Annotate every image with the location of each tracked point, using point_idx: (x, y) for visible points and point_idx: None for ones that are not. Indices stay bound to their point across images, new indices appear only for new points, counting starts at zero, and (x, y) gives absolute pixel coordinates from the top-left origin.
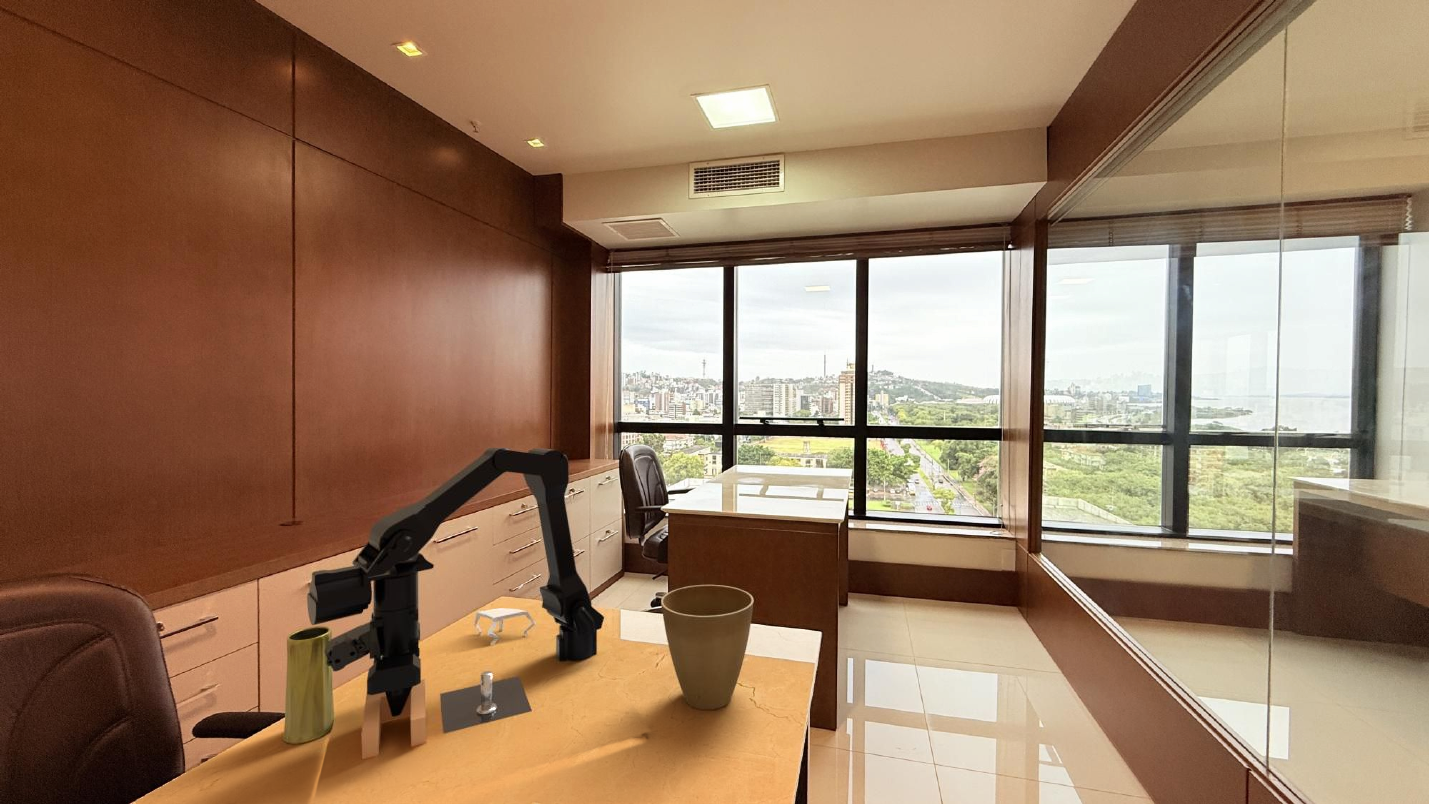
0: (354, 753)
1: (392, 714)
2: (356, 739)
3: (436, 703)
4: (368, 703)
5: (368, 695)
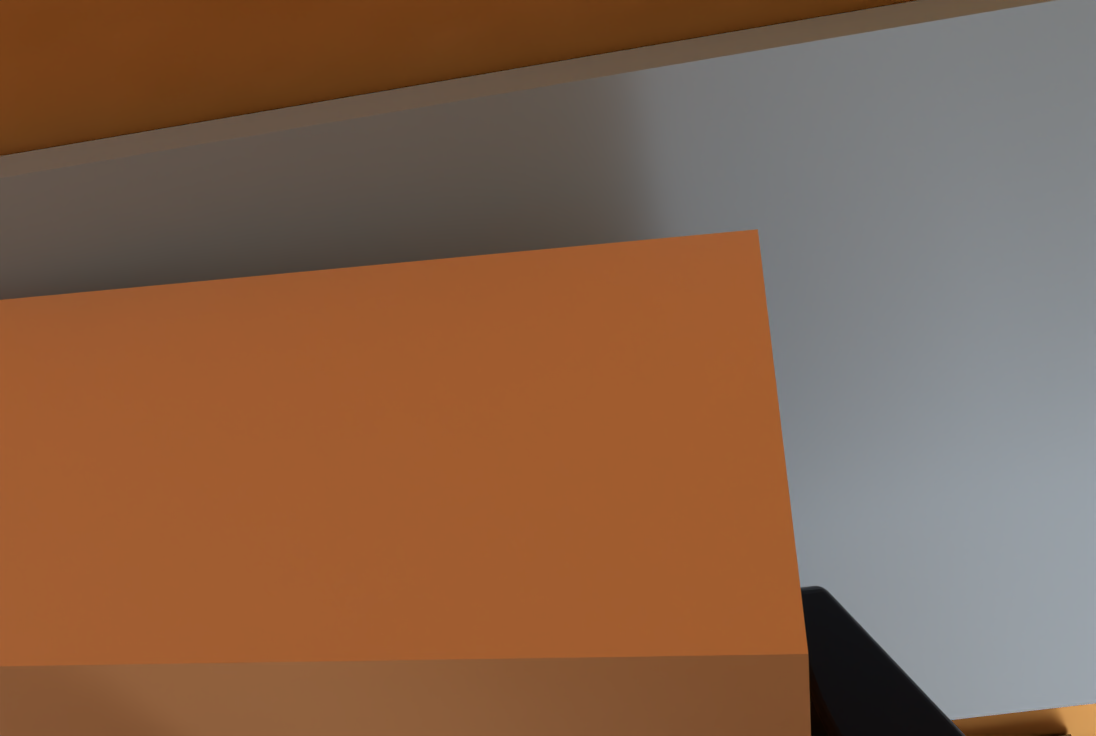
0: (124, 101)
1: None
2: (521, 26)
3: (1016, 712)
4: (214, 713)
5: (591, 697)
